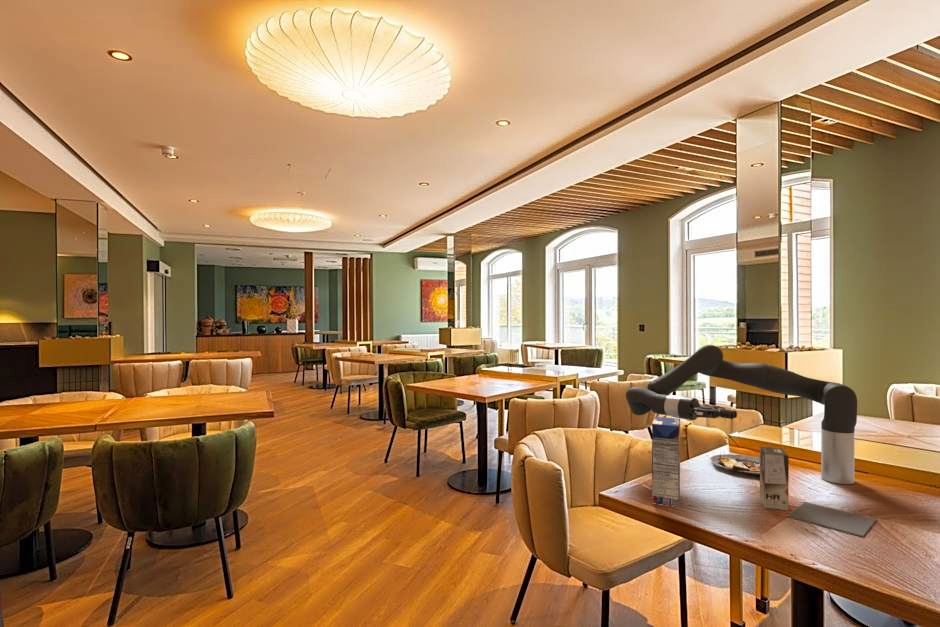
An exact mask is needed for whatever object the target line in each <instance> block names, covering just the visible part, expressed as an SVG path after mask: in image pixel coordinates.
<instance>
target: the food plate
mask: <svg viewBox="0 0 940 627" xmlns="http://www.w3.org/2000/svg"><path fill="white" fill-rule="evenodd" d="M709 458H710V460H711V461H712V463H713V465H715V466H716V467H718V468H722V469H724V470H729V471H733V472H738V473H746V474H751V475H759V474H760V466H757V467H755V466H756V465H758V464H760V457H757V456H752V455H745V454H744V455H743V454H731V453H728V454H715V455H712V456H711V457H709ZM740 463H742V464H740ZM754 463H755V464H754ZM743 464H744V465H745V466H746V467H748V468H744V467H743V466H744V465H743ZM759 476H760V475H759Z"/></svg>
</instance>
